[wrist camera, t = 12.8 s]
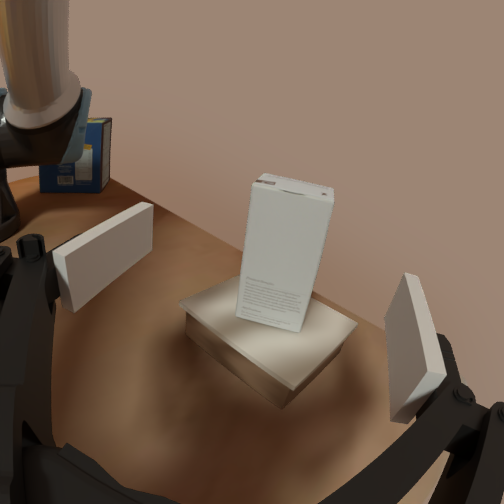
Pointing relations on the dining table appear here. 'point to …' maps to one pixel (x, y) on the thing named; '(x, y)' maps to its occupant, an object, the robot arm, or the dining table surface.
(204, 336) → the podium
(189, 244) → the dining table surface
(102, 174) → the protein box
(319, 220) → the skincare box
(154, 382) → the dining table surface
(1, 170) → the robot arm
